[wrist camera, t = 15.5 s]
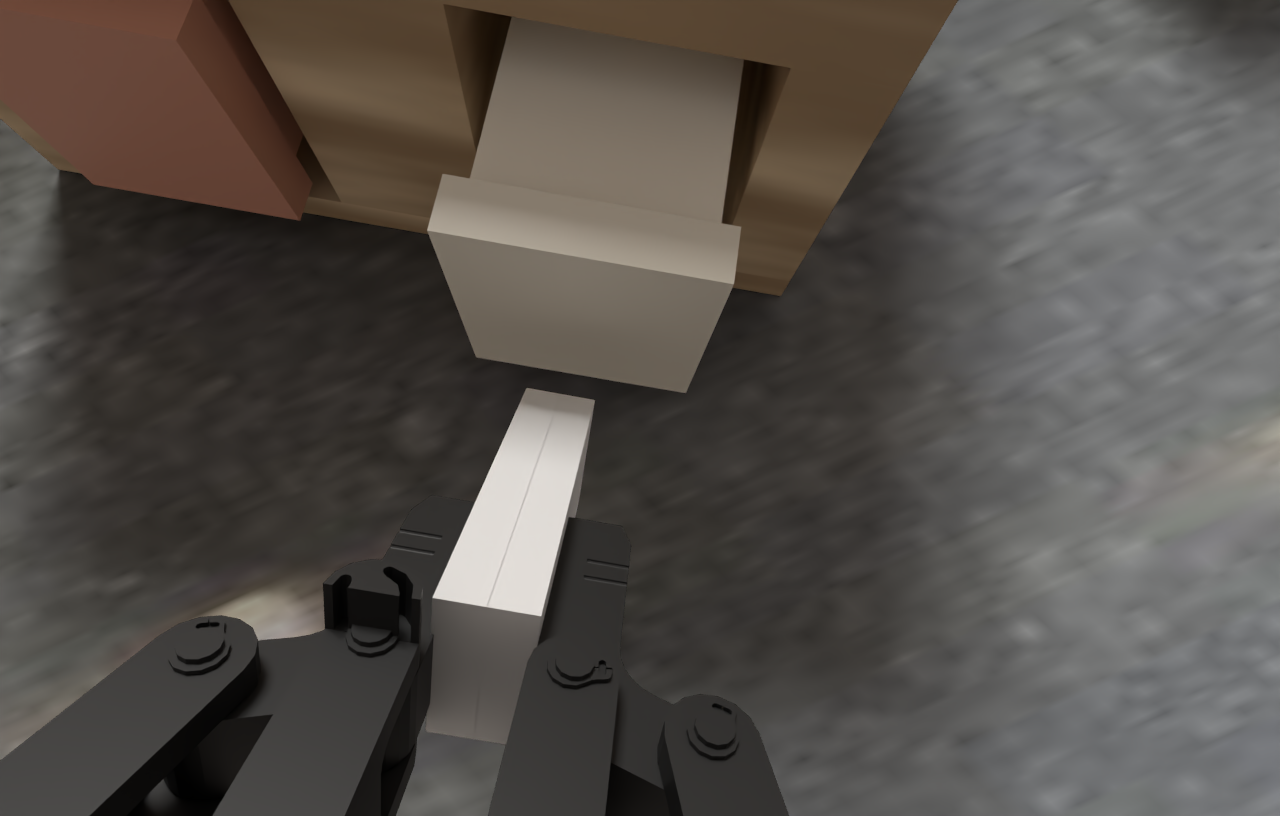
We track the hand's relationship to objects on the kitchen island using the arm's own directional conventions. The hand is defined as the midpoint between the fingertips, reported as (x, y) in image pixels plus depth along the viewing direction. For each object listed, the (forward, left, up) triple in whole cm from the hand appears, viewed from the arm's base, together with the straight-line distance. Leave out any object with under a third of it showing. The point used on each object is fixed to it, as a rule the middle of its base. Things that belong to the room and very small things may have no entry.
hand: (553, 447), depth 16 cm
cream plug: (+5, -10, -2) cm, 11 cm away
